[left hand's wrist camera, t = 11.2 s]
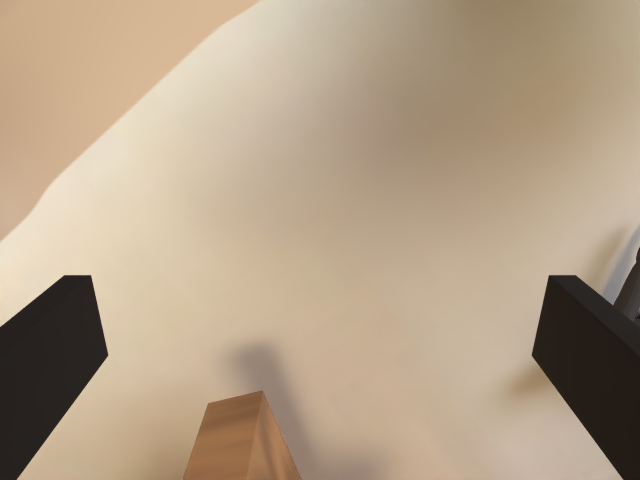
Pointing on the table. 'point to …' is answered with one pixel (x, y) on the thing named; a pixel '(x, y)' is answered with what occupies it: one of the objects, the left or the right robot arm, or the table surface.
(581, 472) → the table surface
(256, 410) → the bar
